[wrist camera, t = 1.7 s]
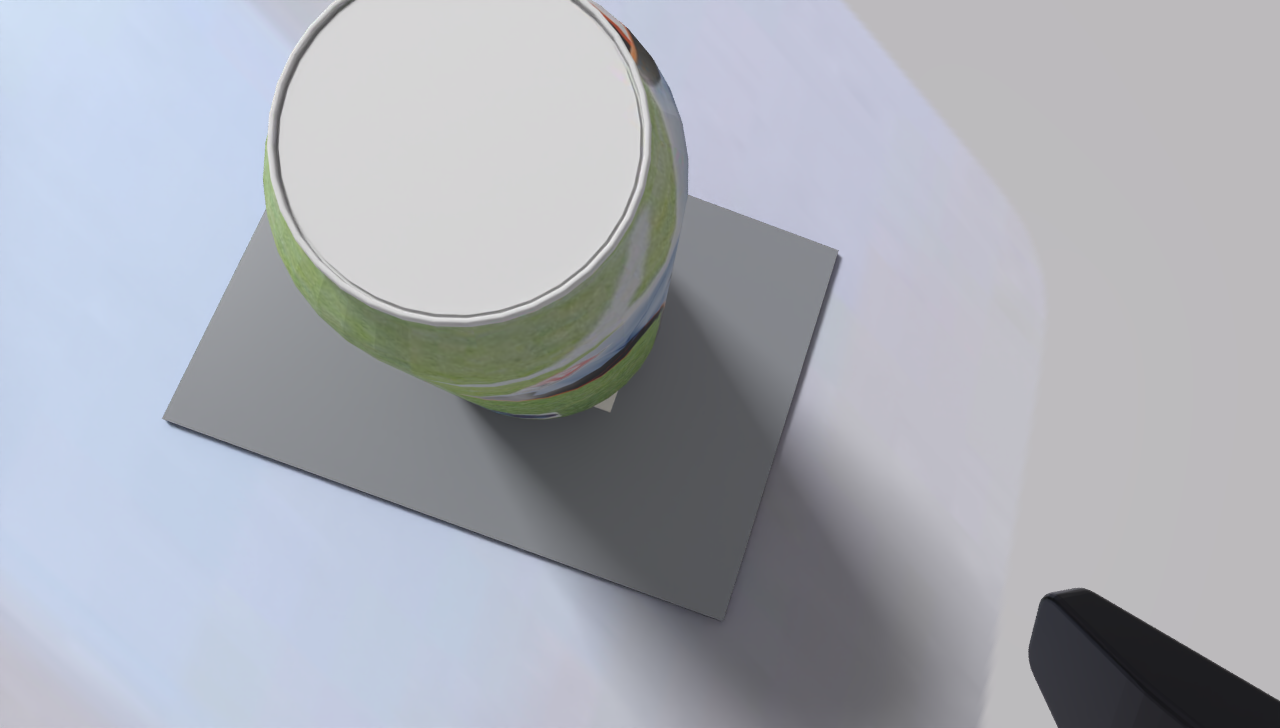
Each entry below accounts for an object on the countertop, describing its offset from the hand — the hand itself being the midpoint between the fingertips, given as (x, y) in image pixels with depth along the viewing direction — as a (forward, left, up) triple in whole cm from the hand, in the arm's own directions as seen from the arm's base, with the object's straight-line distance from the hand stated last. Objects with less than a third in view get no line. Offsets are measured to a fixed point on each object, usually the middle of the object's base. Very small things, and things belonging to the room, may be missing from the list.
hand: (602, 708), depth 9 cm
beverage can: (+4, -7, -14) cm, 16 cm away
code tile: (+4, -7, -14) cm, 16 cm away
